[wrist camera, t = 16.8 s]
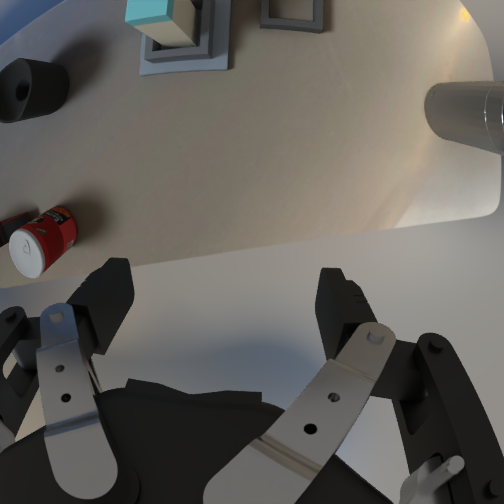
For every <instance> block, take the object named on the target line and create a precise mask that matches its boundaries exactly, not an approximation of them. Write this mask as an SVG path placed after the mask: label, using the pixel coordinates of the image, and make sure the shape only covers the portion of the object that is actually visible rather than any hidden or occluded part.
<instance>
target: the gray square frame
mask: <svg viewBox="0 0 504 504" xmlns="http://www.w3.org/2000/svg"><path fill="white" fill-rule="evenodd" d="M260 28H267V29H283V30H294V31H304V32H312V33H319V34H320V33H321V32H322V31H323V0H313V22H309V21H300V20H290V19H278V18H269V0H261V19H260Z"/></svg>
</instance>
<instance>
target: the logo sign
mask: <svg viewBox="0 0 504 504" xmlns="http://www.w3.org/2000/svg"><path fill="white" fill-rule="evenodd" d="M28 222H30V221H29V218H28V214H27V212H26V213H23V214H20V215H17V216H15V217H12V218H9V219H7V220H4V221H2V222H0V247H2V246H3V245H5V244H7V243H8V242H9V241H10V237H11V235H12V234H13V233H14V232H15V231H16V230H17V229H19V228H20V227H22V226H23V225H25V224H26V223H28Z"/></svg>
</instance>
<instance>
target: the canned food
mask: <svg viewBox="0 0 504 504" xmlns="http://www.w3.org/2000/svg"><path fill="white" fill-rule="evenodd" d="M76 237H77V226H76V222H75V220H74V218H73V216H72V215H71V214H70V212H69V211H67V210H66V209H64V208H61V207H54V208H51V209H49V210H48V211H46V212H44V213H43V214H41V215H39V216H38V217H36V218H34V219H33V220H31V221H30V222H28V223H26V224H25V225H23V226H22V227H20V228H19V229H17V230H16V231H15V232H14V233H13V234H12V235H11V237H10V241H9V249H10V254H11V257H12V260H13V262H14V264H15V266H16V267H17V269H18V270H19V271H20V272H21V273H22V274H23V275H25V276H26V277H29V278H37V277H38V276H40V275H41V274H42V273H43V272H45V271H46V270H47V269H48V268H49V267H50V266H51V265H52V264H53V263H54V262H55V261H56V260H57V259H58V258H60V257H61V256H62V255H63V254H64V253H65V252H66V251H67V250H68V249H70V248H71V247H72V246H73V244H74V242H75V240H76Z"/></svg>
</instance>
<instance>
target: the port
mask: <svg viewBox="0 0 504 504" xmlns="http://www.w3.org/2000/svg"><path fill="white" fill-rule="evenodd" d="M190 1H191V2H192V4H193V6H194V7H195V9H196V10H197V12H198V13H199V25H198V37H197V46H195V47H180V48H169V49H167V48H166V47H164V46H163V45H161V44H160V43H158V42H157V41H155V40H154V39H152V38H151V37H149V36H148V35H146V34H144V33H143V32H142V40H141V54H140V73H139V75H140V76H147V75H156V74H165V73H177V72H191V71H218V70H228V55H229V35H230V17H231V0H190Z"/></svg>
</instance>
